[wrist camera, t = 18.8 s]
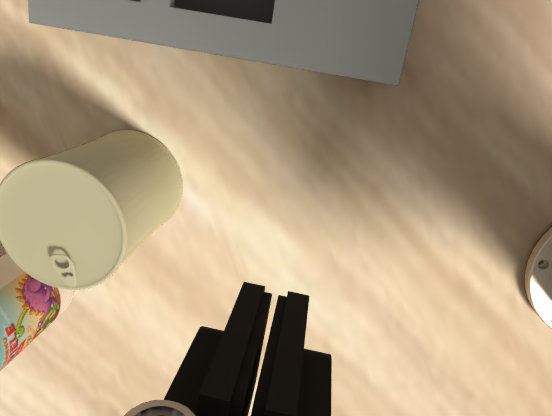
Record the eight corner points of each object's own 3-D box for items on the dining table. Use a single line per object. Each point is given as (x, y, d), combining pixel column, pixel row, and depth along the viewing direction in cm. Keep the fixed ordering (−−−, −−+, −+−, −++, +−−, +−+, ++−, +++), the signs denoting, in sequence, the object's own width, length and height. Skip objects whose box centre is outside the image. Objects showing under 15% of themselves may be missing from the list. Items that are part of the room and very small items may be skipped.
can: (94, 230, 42) (6, 294, 30) (74, 131, 39) (-32, 162, 27) (189, 228, 40) (134, 295, 29) (175, 127, 37) (108, 157, 26)
